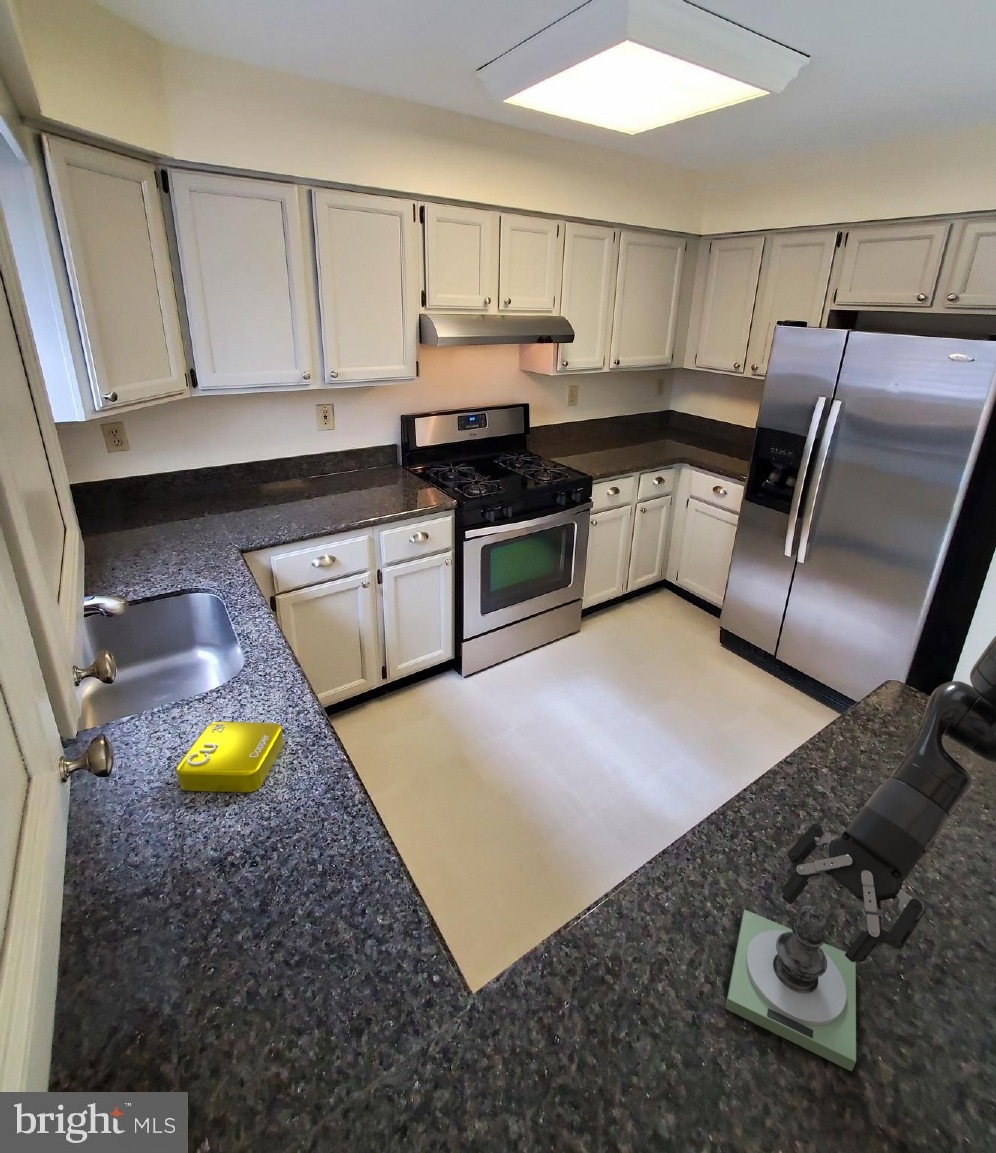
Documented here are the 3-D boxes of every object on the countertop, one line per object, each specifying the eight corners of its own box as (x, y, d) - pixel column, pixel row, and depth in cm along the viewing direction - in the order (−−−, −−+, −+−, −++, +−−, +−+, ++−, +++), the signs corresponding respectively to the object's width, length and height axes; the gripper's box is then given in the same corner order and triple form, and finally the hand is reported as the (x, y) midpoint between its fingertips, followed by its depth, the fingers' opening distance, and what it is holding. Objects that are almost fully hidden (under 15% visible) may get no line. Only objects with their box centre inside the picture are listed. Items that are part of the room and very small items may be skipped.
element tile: (258, 794, 107) (254, 773, 105) (175, 791, 107) (170, 770, 105) (287, 739, 121) (284, 720, 119) (214, 737, 121) (209, 718, 119)
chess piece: (824, 1002, 73) (848, 936, 68) (772, 986, 75) (792, 920, 70) (817, 958, 78) (839, 893, 73) (768, 943, 80) (787, 879, 75)
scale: (852, 966, 80) (857, 952, 79) (851, 1072, 69) (858, 1057, 67) (741, 918, 86) (745, 905, 85) (725, 1008, 75) (728, 994, 74)
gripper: (834, 779, 77) (757, 878, 77) (954, 860, 66) (865, 977, 65) (849, 796, 82) (776, 890, 81) (964, 875, 70) (880, 985, 70)
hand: (816, 929), depth 73 cm, fingers open, 8 cm apart
